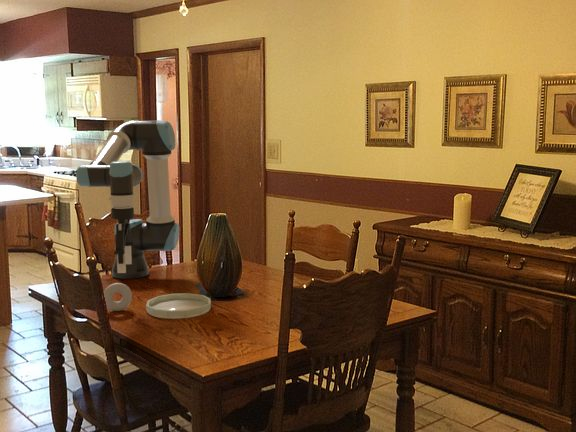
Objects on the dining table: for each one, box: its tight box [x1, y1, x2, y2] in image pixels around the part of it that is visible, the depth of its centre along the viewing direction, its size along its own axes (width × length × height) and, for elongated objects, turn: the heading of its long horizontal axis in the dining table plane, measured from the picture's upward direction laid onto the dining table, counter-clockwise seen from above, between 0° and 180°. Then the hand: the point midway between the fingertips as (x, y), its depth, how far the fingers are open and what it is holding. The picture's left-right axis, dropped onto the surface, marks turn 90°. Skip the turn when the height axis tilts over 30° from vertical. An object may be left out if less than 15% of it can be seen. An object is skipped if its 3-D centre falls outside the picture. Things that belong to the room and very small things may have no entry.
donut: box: [103, 282, 133, 312], centre depth 234 cm, size 10×3×10 cm, turn 110°
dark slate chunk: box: [195, 282, 244, 299], centre depth 261 cm, size 15×22×5 cm
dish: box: [145, 292, 212, 320], centre depth 236 cm, size 22×22×3 cm
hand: (124, 268), depth 232 cm, fingers open, 13 cm apart
